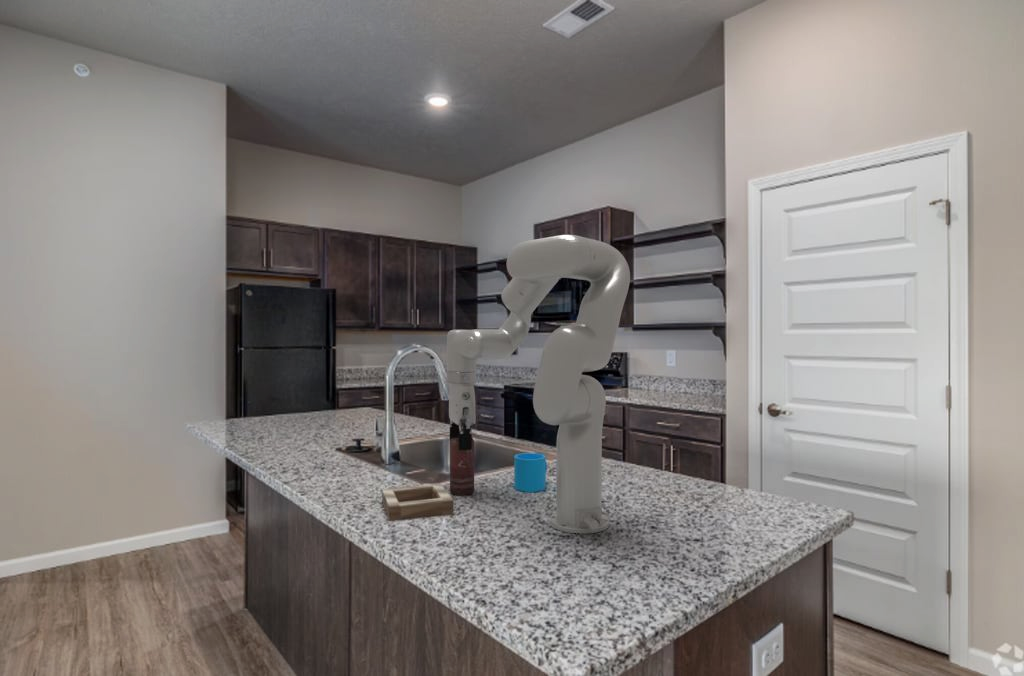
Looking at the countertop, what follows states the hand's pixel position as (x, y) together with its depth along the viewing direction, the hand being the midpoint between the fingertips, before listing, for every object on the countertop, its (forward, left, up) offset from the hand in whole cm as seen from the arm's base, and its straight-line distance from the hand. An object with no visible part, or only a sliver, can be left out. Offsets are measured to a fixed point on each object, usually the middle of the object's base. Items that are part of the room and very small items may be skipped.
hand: (460, 445), depth 139 cm
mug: (0, -20, -12) cm, 23 cm away
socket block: (-10, +13, -12) cm, 20 cm away
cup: (0, 0, -12) cm, 12 cm away
